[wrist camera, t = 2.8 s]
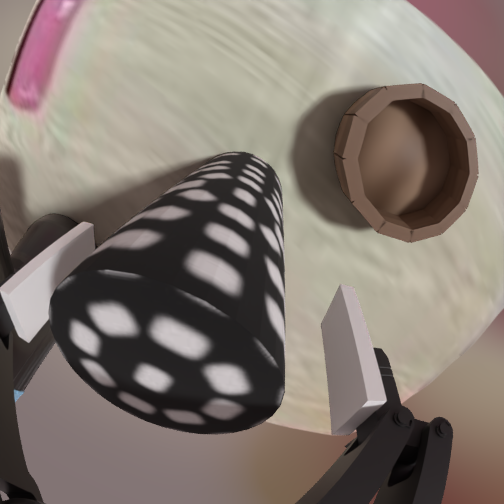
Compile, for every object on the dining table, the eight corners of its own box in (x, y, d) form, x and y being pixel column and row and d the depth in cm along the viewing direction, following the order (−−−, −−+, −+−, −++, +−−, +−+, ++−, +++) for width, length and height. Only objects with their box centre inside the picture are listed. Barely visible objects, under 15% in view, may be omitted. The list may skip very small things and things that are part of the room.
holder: (316, 201, 25) (323, 217, 21) (353, 66, 18) (367, 57, 15) (428, 236, 25) (446, 255, 21) (465, 123, 19) (490, 128, 15)
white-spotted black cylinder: (251, 250, 28) (213, 447, 10) (180, 208, 26) (51, 365, 9) (299, 183, 24) (345, 368, 7) (221, 134, 23) (56, 208, 5)
